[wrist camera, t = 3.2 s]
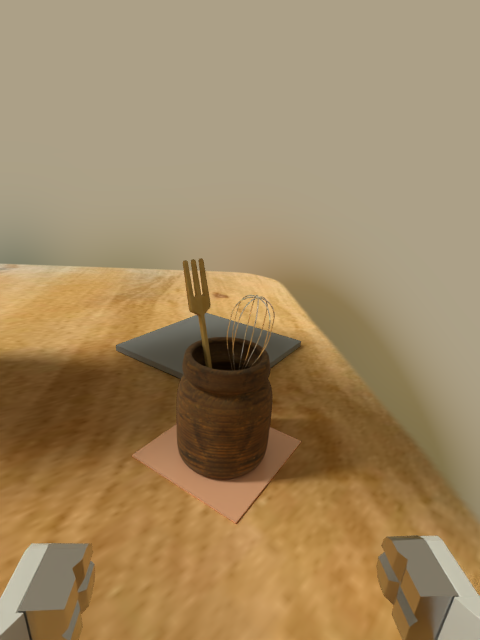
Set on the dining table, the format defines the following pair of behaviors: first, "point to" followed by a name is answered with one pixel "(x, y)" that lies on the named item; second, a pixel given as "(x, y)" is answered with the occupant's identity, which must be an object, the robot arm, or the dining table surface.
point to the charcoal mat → (173, 340)
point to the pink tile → (215, 493)
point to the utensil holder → (222, 395)
